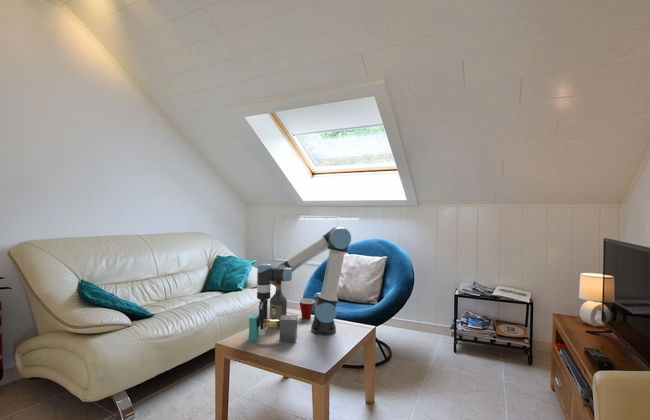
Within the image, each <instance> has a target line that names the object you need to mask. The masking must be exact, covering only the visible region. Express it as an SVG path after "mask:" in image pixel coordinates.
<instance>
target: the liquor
mask: <svg viewBox="0 0 650 420" xmlns="http://www.w3.org/2000/svg"><path fill="white" fill-rule="evenodd" d="M282 283H283V281H275V293H274V294H273V295H272V296H271V297H270V300H269V320H280V318H281V316H282V315H287V311H288V310H287V307H288V306H287V305H288V304H287V302H288V301H287V300H288V299H287V298H286V297H285V295H284V294H283V292H282ZM272 328H275V329H280V327H272Z"/></svg>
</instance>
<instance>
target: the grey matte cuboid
mask: <svg viewBox="0 0 650 420" xmlns="http://www.w3.org/2000/svg"><path fill="white" fill-rule="evenodd" d="M278 339H279V340H278V341H279V343H285V344H286V343H288V344H289V343H290V344H291V343H292V344H293V343H294V344H295V343H296V342H297V339H298V315H296V314H295V315H294V314H286V315H282V316H281V318H280V328H279V338H278Z"/></svg>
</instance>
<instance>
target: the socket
mask: <svg viewBox="0 0 650 420" xmlns="http://www.w3.org/2000/svg"><path fill="white" fill-rule="evenodd" d="M257 319H259V313H252V314H251V315H250V316H249V317H248V342H250V343H251V342H253V343H256V342H257V341H258V339H259V337H260V327H257Z"/></svg>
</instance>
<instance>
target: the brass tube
mask: <svg viewBox="0 0 650 420" xmlns="http://www.w3.org/2000/svg"><path fill="white" fill-rule="evenodd" d="M258 322H259V319H257V327H259V328H260V323H258ZM264 323H265V328H266V329H267V328H273V327H280V320H270V319H264Z"/></svg>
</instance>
